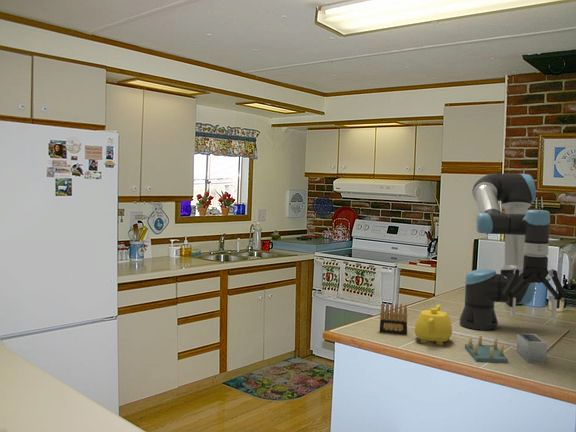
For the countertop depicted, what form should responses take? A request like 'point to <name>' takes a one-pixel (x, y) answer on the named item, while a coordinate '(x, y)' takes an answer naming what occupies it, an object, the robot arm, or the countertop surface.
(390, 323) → the ammunition clip
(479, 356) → the pegboard
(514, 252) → the robot arm
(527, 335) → the grey box
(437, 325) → the teapot
